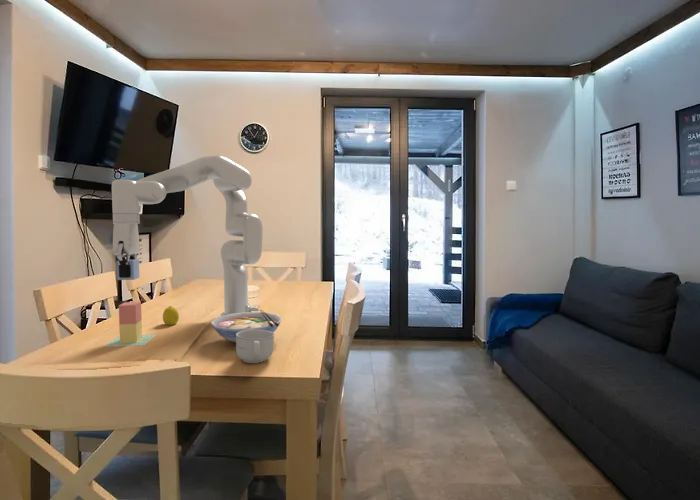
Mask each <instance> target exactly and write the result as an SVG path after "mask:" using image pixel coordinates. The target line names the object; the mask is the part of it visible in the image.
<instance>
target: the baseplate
mask: <svg viewBox="0 0 700 500" xmlns="http://www.w3.org/2000/svg"><path fill="white" fill-rule="evenodd" d="M156 336H157V333H156V334H142V338H141V339H140V340H139V341H138V342H132V343H120V335H118V336H117V337H115V338H114V339H112V340H111V341H109V342H108V343H107V344H105V345H104V346H103V348H106V347H107V348H109V347H110V348H111V347H112V348H113V347H136V346H137V347H138V346H146V345H148V343H149V342H150V341H151V340H152V339H153V338H154V337H156Z"/></svg>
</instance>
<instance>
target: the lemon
mask: <svg viewBox="0 0 700 500" xmlns="http://www.w3.org/2000/svg"><path fill="white" fill-rule="evenodd" d="M179 317H180V314H179V310H178V309H177V308H175V307H174V306H172V305H169V306H168V307H166V308H165V309H164V311H163V313H162V321H163V323H164V324H165V325H166V326H174V325H176V324H177V323H178V321H179Z"/></svg>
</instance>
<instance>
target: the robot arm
mask: <svg viewBox="0 0 700 500" xmlns="http://www.w3.org/2000/svg"><path fill="white" fill-rule="evenodd" d="M210 180H212V182H213V184H214V186H215V188H216V189H217V190H218V191H219V192H220V193H221V194H222V196H223V198H224V200H225V224H224V225H225V232H226V234H227V235H229V236H230V237H234V238H235V237H237V238H242V239H241V240H239V239H231V240H228V241H227V240H226V241H225V242H224V243H223V244H222V246H221V248H220V257H221V258H220V259H221V262H222V266H223V267H222V268H223V297H224V298H223V299H224V300H223V302H224V303H223V304H224V307H223V308H224V311H222V312H221V313H220V316H224V315H228V314H234V313H242V312H260V310H259V309H260V306H256V305H253V306H251V305H250V303H249V295H248V294H249V293H248V292H249V288H248V286H249V284H248V281H249V280H248V277H249V275H248V270H247V267H246V265H255V264H256V263H258V262H260V259H261V257H262V251H263V233H264V232H263V222H262V220H261V218H260V217H259V216H258V215H256V214H255V213H248V201H247V197H246V195H245V193H244V191H247V190H248V189H249V188H250V187H251V186H252V182H253V181H252V180H253V179H252V175H251V173H250V172H249V171H248V170H247V169H246V168H244V167H243V166H241V165H239V164H238V163H235V162H234V161H232V160H231V159H229V158H227V157H226V156H222V155H209V156H207V155H206V156H202V157H199V158H196V159H193V160H191V161H189V162H186V163H184V164H180V165H178V166H175V167H173V168H172V167H171V168H169V169H166V170H164V171H159V172H157V173H155V174H150V175H148V176H146V177H142V178H139V179H137V180H131V179H116V180H113V181H112V183H111V201H112V203H111V205H112V206H111V207H112V224H113V228H112V254H113V255H114V256H116V259H117V261H118V265H119V277H120V278H129V277H131V270H130V265H129V259H138V258H137V257H138V253H139V252H140V235H139V225H138V224H141V222H140V221H141V220H140V217H141V216H140V205H154V204H155V205H156V204H160V203H161V202H163V200H164V199H165V198H166V196H167V194H169V193H176V192H177V193H178V192H183V191H186V190H189V189H191V188H193V187H195V186H198V185H200V184H203V183H205V182H207V181H210Z"/></svg>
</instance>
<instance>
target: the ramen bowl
mask: <svg viewBox="0 0 700 500" xmlns="http://www.w3.org/2000/svg"><path fill="white" fill-rule="evenodd" d="M281 322H282V316H280V315H278V314H276V313H271V312H265V311H264V310H263V309H260V308H259V311H251V312H242V313H234V314H228V315H224V316H221V315H220V316H218V317H215V318H213V319H212V320H211V322H210V323H211V326H212V328H213V329H214V330H215V331H216V333H217V334H218V335H220V336H221V337H222V338H223V339H225V340H226V341H230V342H233V343H236V333H238V332H240V331H245V330H267V331H271V332H273V333H274V334H275V331H276V330H277V329H278V327H279V326H280V324H281Z"/></svg>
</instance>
